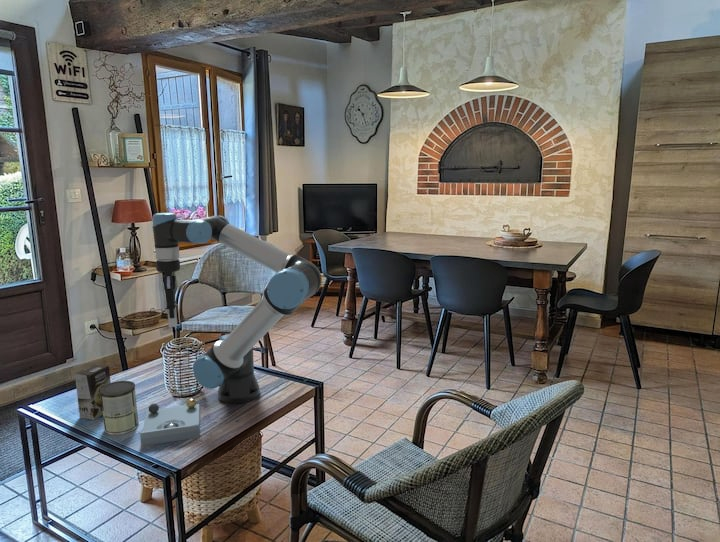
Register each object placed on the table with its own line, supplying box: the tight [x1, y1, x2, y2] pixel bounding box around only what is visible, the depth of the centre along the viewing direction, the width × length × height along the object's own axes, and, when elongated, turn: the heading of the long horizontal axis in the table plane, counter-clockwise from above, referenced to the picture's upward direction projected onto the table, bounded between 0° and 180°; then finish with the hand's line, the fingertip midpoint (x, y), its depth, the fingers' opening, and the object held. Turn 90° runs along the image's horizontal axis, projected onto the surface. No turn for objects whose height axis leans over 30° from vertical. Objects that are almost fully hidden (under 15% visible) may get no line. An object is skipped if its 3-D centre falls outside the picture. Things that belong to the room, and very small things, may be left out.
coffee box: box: [74, 363, 112, 421], centre depth 174 cm, size 9×6×16 cm
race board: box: [139, 403, 201, 447], centre depth 166 cm, size 17×19×4 cm
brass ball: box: [186, 398, 197, 408], centre depth 174 cm, size 3×3×3 cm
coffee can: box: [100, 380, 139, 436], centre depth 165 cm, size 10×10×14 cm
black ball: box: [148, 403, 160, 413], centre depth 170 cm, size 3×3×3 cm
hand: (173, 326), depth 176 cm, fingers closed
